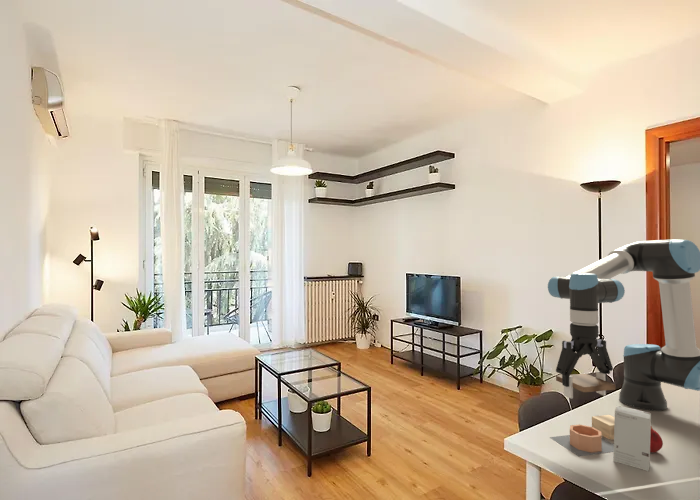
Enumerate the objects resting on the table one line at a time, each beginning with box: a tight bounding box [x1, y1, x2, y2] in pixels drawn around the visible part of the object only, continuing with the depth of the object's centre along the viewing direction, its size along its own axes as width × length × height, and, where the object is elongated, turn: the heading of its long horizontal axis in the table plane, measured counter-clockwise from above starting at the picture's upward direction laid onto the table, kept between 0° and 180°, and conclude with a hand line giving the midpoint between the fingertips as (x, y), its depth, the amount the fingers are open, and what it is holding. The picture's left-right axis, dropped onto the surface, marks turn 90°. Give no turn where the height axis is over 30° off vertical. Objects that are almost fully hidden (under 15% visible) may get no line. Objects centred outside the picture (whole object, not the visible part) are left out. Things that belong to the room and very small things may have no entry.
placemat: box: [549, 434, 614, 457], centre depth 120 cm, size 16×12×1 cm
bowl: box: [569, 423, 603, 453], centre depth 118 cm, size 8×8×4 cm
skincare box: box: [612, 405, 652, 472], centre depth 109 cm, size 8×6×15 cm
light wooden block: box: [591, 414, 615, 441], centre depth 126 cm, size 7×7×5 cm
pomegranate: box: [650, 425, 664, 454], centre depth 115 cm, size 6×6×8 cm
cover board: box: [555, 373, 616, 393], centre depth 119 cm, size 11×11×2 cm
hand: (584, 395), depth 119 cm, fingers closed on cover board, 11 cm apart
